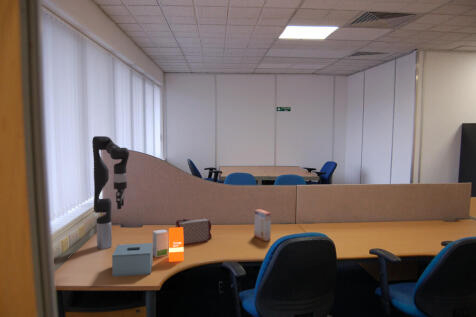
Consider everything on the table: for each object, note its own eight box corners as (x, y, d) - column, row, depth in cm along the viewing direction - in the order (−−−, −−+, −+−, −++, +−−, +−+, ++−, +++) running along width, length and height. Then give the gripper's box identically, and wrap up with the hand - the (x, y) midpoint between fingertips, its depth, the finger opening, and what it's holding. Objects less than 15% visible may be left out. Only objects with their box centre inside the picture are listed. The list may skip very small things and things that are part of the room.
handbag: (209, 236, 239) (209, 213, 237) (215, 240, 229) (215, 217, 228) (173, 241, 225) (173, 218, 223) (178, 246, 216) (178, 222, 214)
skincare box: (155, 258, 196) (155, 233, 194) (152, 254, 201) (151, 231, 200) (168, 255, 201) (168, 231, 199) (164, 251, 206) (164, 228, 205)
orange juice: (168, 256, 198) (168, 226, 196) (182, 255, 200) (182, 225, 198) (169, 261, 190) (168, 229, 188) (183, 260, 192) (183, 229, 190)
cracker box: (270, 240, 231) (271, 212, 229) (264, 241, 228) (264, 213, 226) (260, 234, 243) (261, 208, 242) (253, 235, 240) (254, 209, 239)
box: (117, 264, 185) (117, 244, 184) (152, 262, 189) (152, 243, 188) (112, 276, 170) (112, 255, 169) (150, 274, 174) (150, 253, 173)
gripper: (115, 179, 193) (116, 204, 195) (111, 182, 180) (111, 210, 181) (128, 178, 195) (128, 204, 196) (124, 182, 181) (125, 210, 182)
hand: (120, 207), depth 189 cm, fingers open, 8 cm apart
